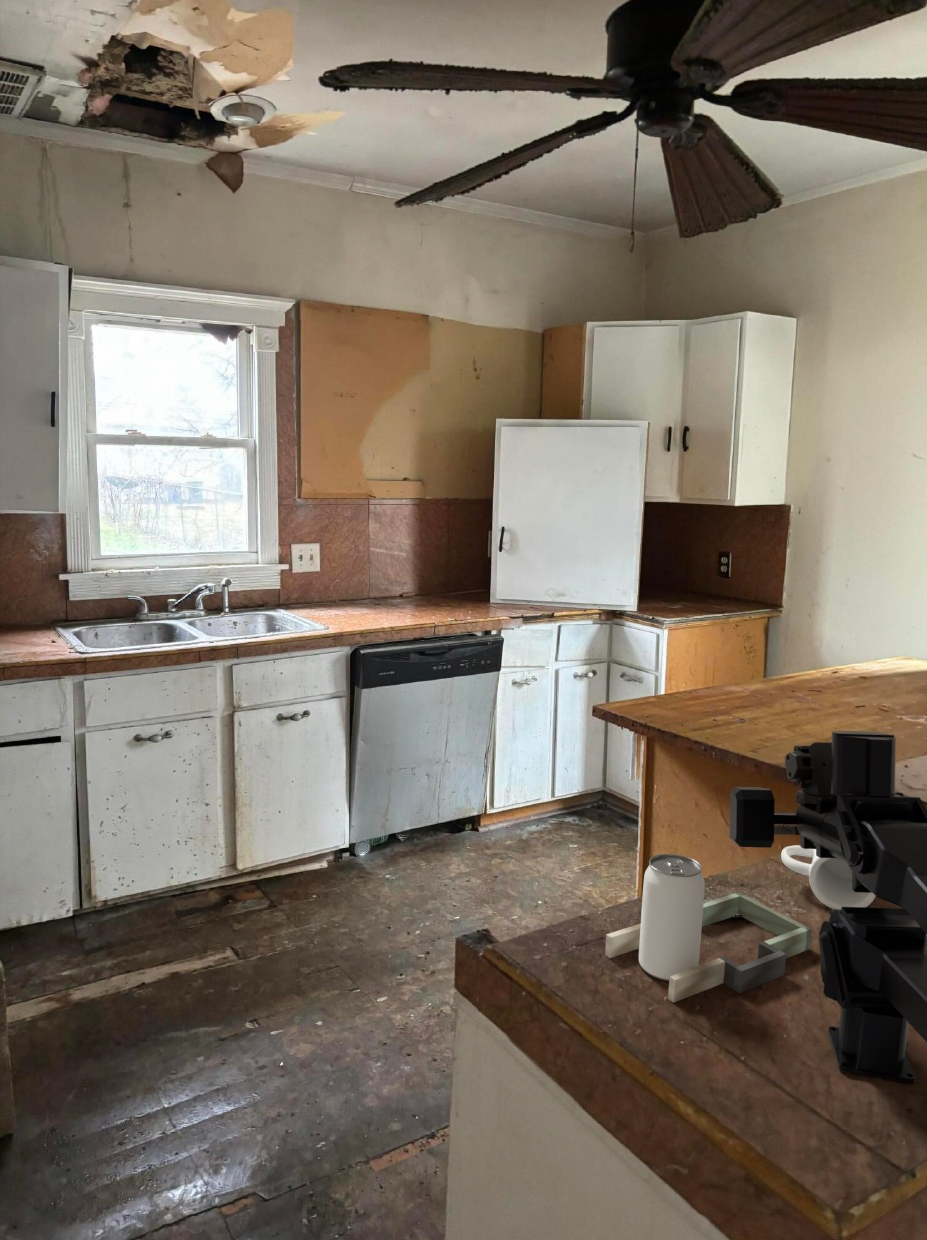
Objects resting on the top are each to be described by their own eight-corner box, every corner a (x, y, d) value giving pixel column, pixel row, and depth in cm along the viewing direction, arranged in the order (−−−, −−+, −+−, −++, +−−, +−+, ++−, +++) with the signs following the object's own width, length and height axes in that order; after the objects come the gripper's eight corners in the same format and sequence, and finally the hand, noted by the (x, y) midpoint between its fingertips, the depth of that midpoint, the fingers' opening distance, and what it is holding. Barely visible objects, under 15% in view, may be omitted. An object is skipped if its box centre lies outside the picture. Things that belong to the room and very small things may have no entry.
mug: (876, 888, 119) (882, 832, 118) (874, 919, 110) (880, 859, 109) (782, 868, 124) (787, 814, 123) (773, 897, 115) (778, 839, 114)
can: (693, 954, 100) (700, 854, 99) (702, 986, 94) (711, 879, 92) (635, 949, 101) (642, 850, 99) (641, 980, 95) (648, 875, 93)
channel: (689, 1014, 89) (691, 991, 88) (592, 946, 101) (593, 926, 101) (826, 958, 100) (828, 937, 100) (723, 903, 113) (725, 885, 113)
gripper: (940, 753, 89) (867, 738, 105) (757, 749, 89) (711, 734, 105) (940, 865, 89) (866, 832, 104) (755, 861, 89) (709, 829, 104)
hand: (788, 805), depth 104 cm, fingers open, 9 cm apart
